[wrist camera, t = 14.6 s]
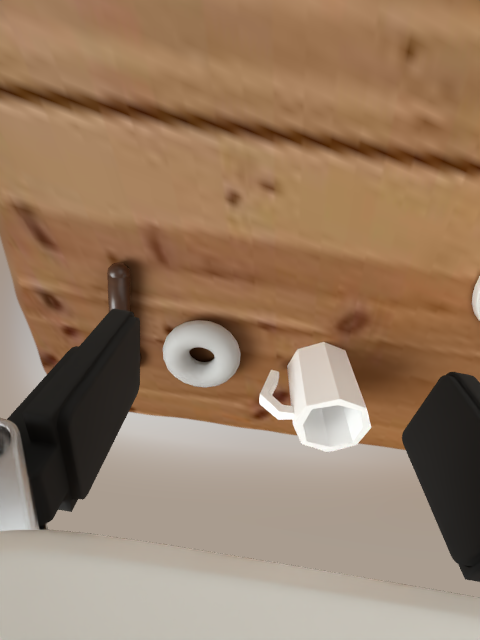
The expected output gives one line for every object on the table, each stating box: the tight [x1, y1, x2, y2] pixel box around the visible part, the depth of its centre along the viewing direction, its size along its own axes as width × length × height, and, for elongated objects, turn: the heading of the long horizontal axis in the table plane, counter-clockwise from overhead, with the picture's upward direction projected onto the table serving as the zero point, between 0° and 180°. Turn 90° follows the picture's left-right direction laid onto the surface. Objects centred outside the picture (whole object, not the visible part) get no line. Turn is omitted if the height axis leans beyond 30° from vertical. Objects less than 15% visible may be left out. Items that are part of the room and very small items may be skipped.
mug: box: [259, 342, 371, 452], centre depth 38 cm, size 12×9×10 cm
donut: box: [163, 320, 241, 387], centre depth 40 cm, size 10×3×10 cm
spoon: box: [107, 263, 141, 361], centre depth 39 cm, size 16×5×2 cm, turn 169°
